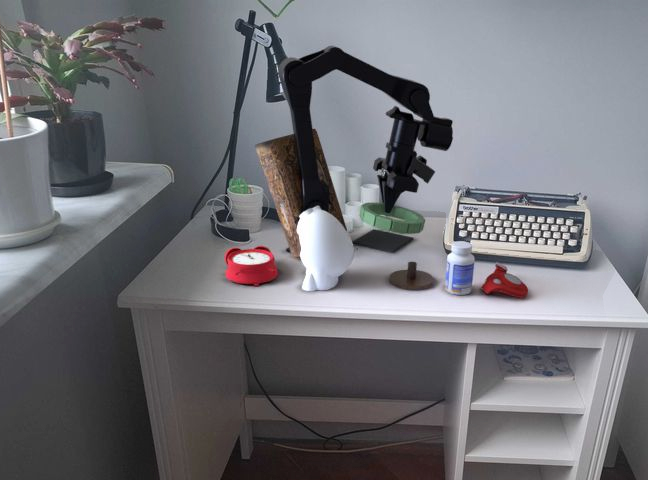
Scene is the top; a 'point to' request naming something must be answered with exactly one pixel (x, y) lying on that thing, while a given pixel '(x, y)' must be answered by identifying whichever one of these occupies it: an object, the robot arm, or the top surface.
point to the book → (292, 183)
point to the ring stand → (411, 278)
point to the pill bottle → (460, 268)
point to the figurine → (323, 249)
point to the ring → (373, 217)
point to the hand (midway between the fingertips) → (386, 211)
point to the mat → (383, 241)
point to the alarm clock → (250, 265)
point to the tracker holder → (504, 283)
